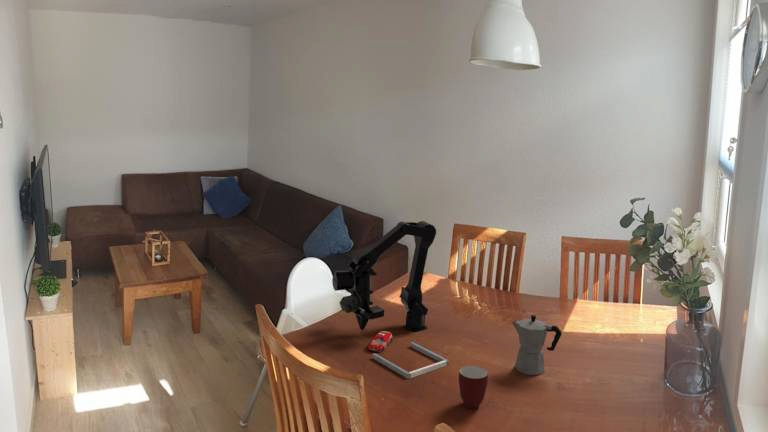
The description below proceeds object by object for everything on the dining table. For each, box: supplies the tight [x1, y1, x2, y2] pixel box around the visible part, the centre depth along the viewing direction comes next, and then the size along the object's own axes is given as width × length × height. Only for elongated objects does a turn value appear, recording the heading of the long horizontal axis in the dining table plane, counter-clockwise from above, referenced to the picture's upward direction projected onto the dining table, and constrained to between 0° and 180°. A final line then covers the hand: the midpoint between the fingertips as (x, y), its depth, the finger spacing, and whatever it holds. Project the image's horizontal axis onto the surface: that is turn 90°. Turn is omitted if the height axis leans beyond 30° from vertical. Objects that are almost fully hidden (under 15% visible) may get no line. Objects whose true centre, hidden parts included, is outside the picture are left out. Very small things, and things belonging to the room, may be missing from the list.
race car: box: [367, 330, 393, 353], centre depth 216 cm, size 13×5×4 cm, turn 158°
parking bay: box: [372, 341, 450, 380], centre depth 204 cm, size 17×18×2 cm
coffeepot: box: [511, 314, 563, 376], centre depth 199 cm, size 15×9×18 cm, turn 68°
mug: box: [458, 365, 489, 409], centre depth 178 cm, size 11×8×10 cm
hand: (362, 329), depth 225 cm, fingers closed
